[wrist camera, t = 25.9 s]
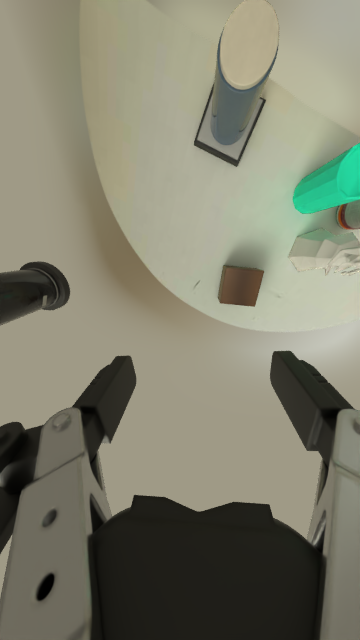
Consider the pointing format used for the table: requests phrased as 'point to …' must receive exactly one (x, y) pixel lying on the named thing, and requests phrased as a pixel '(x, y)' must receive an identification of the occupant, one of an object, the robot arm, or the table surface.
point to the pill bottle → (349, 215)
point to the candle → (330, 184)
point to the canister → (242, 68)
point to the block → (240, 285)
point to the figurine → (326, 252)
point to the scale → (222, 151)
